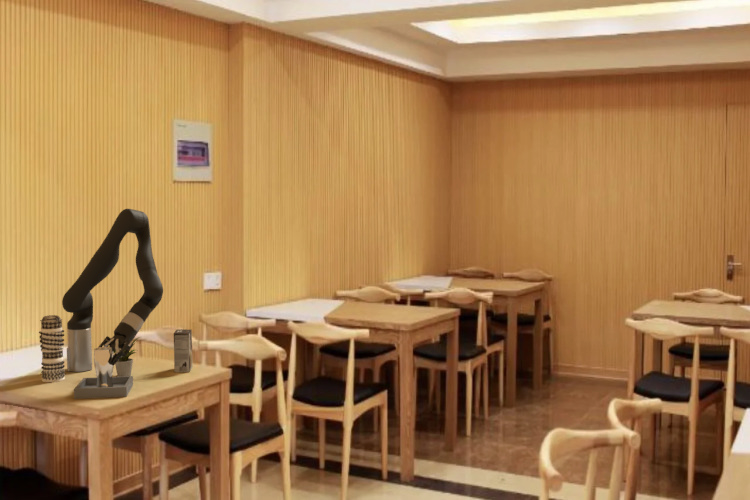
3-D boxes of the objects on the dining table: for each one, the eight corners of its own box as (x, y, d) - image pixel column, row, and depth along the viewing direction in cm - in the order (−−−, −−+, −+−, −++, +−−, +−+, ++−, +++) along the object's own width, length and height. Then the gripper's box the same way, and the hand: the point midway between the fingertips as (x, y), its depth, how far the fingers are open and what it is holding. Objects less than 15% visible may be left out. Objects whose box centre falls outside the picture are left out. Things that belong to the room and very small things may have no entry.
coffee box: (177, 367, 352) (176, 329, 350) (192, 367, 352) (192, 329, 351) (173, 372, 342) (172, 333, 341) (190, 372, 343) (189, 332, 342)
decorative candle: (63, 381, 327) (61, 317, 325) (38, 382, 326) (36, 318, 324) (68, 376, 336) (66, 314, 334) (43, 377, 335) (41, 314, 333)
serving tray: (74, 398, 301) (73, 389, 300) (83, 387, 318) (83, 377, 318) (126, 396, 303) (126, 387, 303) (133, 385, 321) (132, 376, 321)
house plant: (134, 369, 349) (133, 330, 348) (151, 374, 339) (150, 334, 338) (101, 374, 339) (100, 334, 338) (118, 380, 329) (117, 338, 328)
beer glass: (118, 387, 313) (117, 347, 312) (107, 391, 306) (105, 350, 305) (102, 386, 315) (101, 346, 314) (90, 390, 309) (89, 349, 308)
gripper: (111, 319, 320) (85, 354, 312) (135, 323, 312) (109, 359, 304) (123, 331, 325) (98, 366, 317) (147, 335, 317) (122, 371, 308)
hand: (103, 362), depth 310 cm, fingers open, 8 cm apart
